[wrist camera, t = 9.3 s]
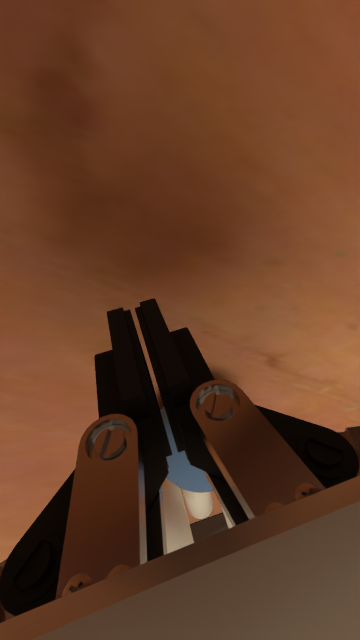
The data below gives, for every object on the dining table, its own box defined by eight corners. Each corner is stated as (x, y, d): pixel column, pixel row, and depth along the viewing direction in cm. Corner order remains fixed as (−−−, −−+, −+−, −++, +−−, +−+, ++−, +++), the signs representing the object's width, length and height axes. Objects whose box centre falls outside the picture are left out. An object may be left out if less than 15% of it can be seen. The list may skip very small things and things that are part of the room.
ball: (172, 494, 21) (138, 412, 22) (246, 453, 22) (210, 377, 23) (181, 531, 15) (134, 417, 16) (281, 473, 16) (230, 370, 17)
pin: (144, 468, 24) (166, 603, 17) (172, 458, 25) (204, 588, 18) (150, 482, 26) (173, 613, 19) (177, 473, 26) (208, 599, 19)
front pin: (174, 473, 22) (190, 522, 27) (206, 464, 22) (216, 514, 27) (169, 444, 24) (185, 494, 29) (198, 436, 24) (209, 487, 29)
